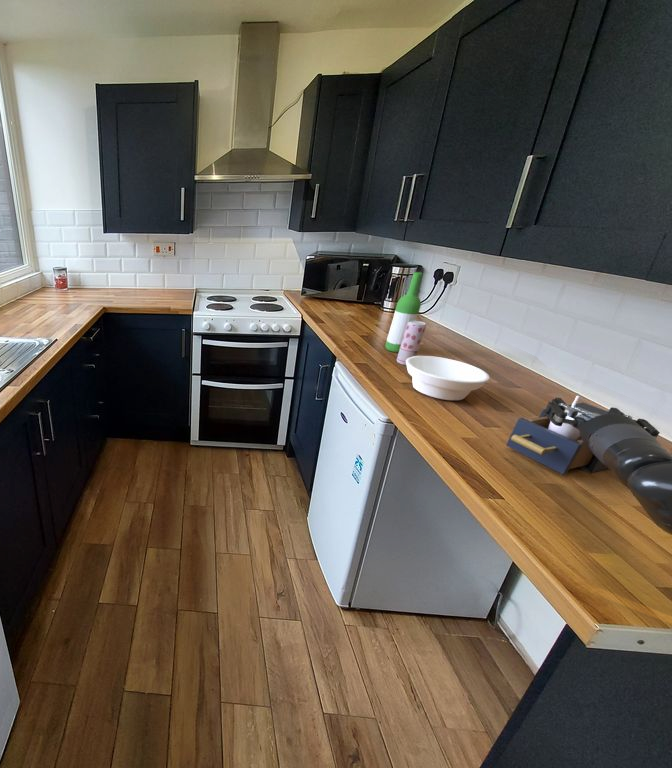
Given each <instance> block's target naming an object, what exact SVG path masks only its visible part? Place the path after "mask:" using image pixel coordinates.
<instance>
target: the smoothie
mask: <svg viewBox="0 0 672 768" xmlns="http://www.w3.org/2000/svg"><path fill="white" fill-rule="evenodd" d="M580 399H581V396H580V395H576V396H575V398H574V400H573V401H572V404H571V405H572V406H571V407H575V406H576V404H578V403H579V400H580ZM564 412H567V413H569V411H568V410H566V409H565V411H564ZM581 414H582V413H579V412H578V414H577V416H579V415H581ZM567 415H568V414H567ZM577 416H576V417H577ZM548 429H549V430H551V431H553V432H556V433H558V434H560V435H563V436H565V437H567V438H569V439H572V440H574V441H577V439H578V438H579V437H580V431H579V430H578V429H576V428H575V427H573V426H572V425H570V424H567V423H563V424H562V426H556V425H554V424H553V423H552V422H551V421H550V425H549V428H548Z"/></svg>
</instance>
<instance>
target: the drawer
mask: <svg viewBox="0 0 672 768" xmlns="http://www.w3.org/2000/svg"><path fill="white" fill-rule="evenodd" d="M539 417H540V416H539ZM539 417H535V418H529V419H526V418H524V417H519V418H517V421H516V423H515V425H514V428H513V429H512V432H511V434H510V436H509V438H508V440H507V442H506V447H508V448H510V449H512V450H514V451H516V452H518V453H520V454H522V455H524V456H526V457H528V458H529V459H532V460H534V461H536V462H538V463H539V464H542V465H544V466H546V467H547V468H549V469H551V470H553V471H555V472H557V473H559V474H562V475H566V474H568V472H569V470H571V469H575V468H576V469H577V468H580V466H584V465H588V464H591V463H592V461H593V459H594V457H595V455H594V454H593V453H592V451H591V450H590V449H589V448H588V447H587V446H586V444H585V443H584V442H583V441H582V439H581V436H580V437H579V438H578V439H577V441H574V440H572V439H569V438H567V437H565V436H563V435H560V434H558V433H556V432H553V431H551V430H549V429H548V428H549V425H550V420H549V419H548V418H547V417H546V416H545V417H540V418H539Z"/></svg>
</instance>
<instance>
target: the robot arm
mask: <svg viewBox="0 0 672 768" xmlns="http://www.w3.org/2000/svg"><path fill="white" fill-rule="evenodd" d="M568 405H569V404H567V403H566V401H564V400H563V399H562V397H555V398H552V400H551V401H549V402H548V403H547V404H546V407H545V408H544V409H545V411H544V414H545V415H546V417H547V418H548V419H549V420H550V421H551V422H552V423H553V424H554V425H556V426H562V424H563V423H567V424H570V425H572V426H573V427H575V428H576V429H578V430H579V431H580V436H581V439H582V441H583V442H584V443H585V444H586V446H587V447H588V448H589V449H590V450H591V451H592V453H593V454H594V455H595V456H596V457H597V458H598V459H599V461H600V462H602V463H603V464H604V465H605V466H607V467H608V468H609V469H608V470H609V471H610V472H611V474H613V475H614V476H615V477H616V478H617V480H618V481H619V482H621V483H622V484H623V485H624V486H625V487H626V488H627V489H628V490H629V491H630V492H631V494H632V495H633V497H634V499H636V501H637V502H638V503H639V505H640V506H641V507H642V508H643V510H644V511H645V512H646V514H647V515H648V516H649V517H650V519H651V520H652V521H653V523H654V524H655V525H656V526H657V527H658V528H659V529H660V530H662V531H663V532H665V533H667V534H669V535H670V536H672V454H671V453H670V452H669V451H668V450H667V449H665V448H664V447H663V446H662V445H661V443H660V442H659V441H658V440H657V437H659V435H660V431H659V430H658V429H657V428H656V427H655V426H653V424H651V423H650V422H649V421H648V420H646V419H644V418H638V419H634V418H633V416H631V415H629V414H625V413H624V412H623V411H621V410H619V408H617V407H612V406H611V407H610V408H609V410H608V413H607V414H605V415H600V414H598V413H592V412H589V411H587V410H585V409H582V408H580V407H571V406H568ZM565 409H566V410H568V411H569V413H567V412H564V411H565ZM578 412H579V413H582V414H581V415H579V416H577V414H578ZM567 414H568V415H567ZM576 416H577V417H576Z"/></svg>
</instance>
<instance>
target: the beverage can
mask: <svg viewBox="0 0 672 768" xmlns="http://www.w3.org/2000/svg"><path fill="white" fill-rule="evenodd" d="M426 325H427V324H426V322H424V321H420V320H416V321H409V322H408V324H407V327H406V330H405V334H404V337H403V340H402V343H401V347H400V350H399V353H398V354H397V357H396V362H397V363H398V364H401V365H404V366H407V365H406V360H407V358H409V357H413V356H418V353H419V350H420V347H421V343H422V340H423V337H424V334H425V330H426V327H427V326H426Z"/></svg>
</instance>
